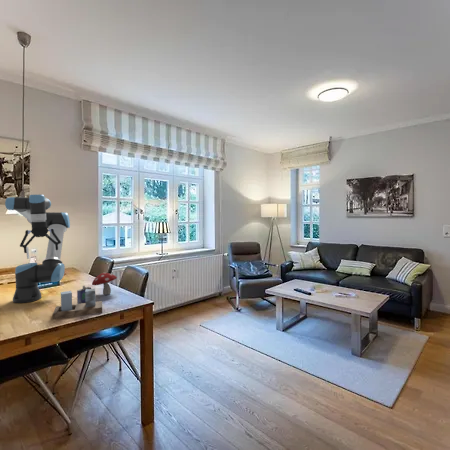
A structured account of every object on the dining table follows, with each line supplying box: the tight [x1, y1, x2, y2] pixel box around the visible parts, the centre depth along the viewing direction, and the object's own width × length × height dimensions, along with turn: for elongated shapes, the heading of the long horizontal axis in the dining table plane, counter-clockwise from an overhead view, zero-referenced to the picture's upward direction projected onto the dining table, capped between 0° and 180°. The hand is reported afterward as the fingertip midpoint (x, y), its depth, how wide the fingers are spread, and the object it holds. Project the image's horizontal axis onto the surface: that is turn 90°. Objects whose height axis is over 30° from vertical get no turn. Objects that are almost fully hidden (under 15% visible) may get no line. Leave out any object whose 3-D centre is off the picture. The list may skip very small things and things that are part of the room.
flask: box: [76, 285, 92, 304], centre depth 176 cm, size 9×3×11 cm, turn 151°
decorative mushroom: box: [91, 272, 118, 295], centre depth 194 cm, size 16×16×15 cm
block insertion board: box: [52, 288, 103, 320], centre depth 160 cm, size 24×12×12 cm, turn 114°
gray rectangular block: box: [60, 290, 73, 311], centre depth 157 cm, size 5×5×12 cm
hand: (42, 257), depth 166 cm, fingers open, 13 cm apart
